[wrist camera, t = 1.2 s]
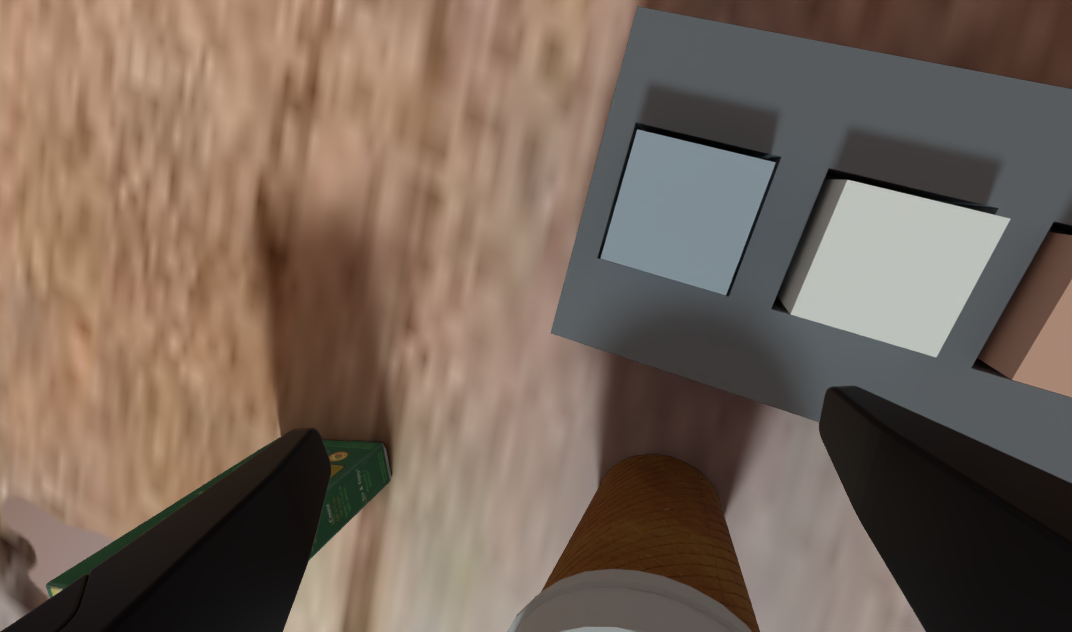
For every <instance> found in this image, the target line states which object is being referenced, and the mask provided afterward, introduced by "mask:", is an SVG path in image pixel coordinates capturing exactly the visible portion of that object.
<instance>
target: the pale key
mask: <svg viewBox="0 0 1072 632" xmlns="http://www.w3.org/2000/svg"><path fill="white" fill-rule="evenodd" d="M1009 221H1010V218H1005V217H1001V216H997V215H993V214H989V213H985V212H980V211H976V210H972V209H968V208H964V207H959V206H955V205H951V204H947V203H943V202H939V201H934V200H930V199H926V198H922V197H918V196H914V195H909V194H905V193H901V192H897V191H893V190H888V189H884V188H880V187H876V186H872V185H868V184H863V183H859V182H855V181H851V180H838V179H824V181H823V183H822V186H821V188H820V191H819V193H818V196H817V198H816V200H815V203H814V205H813V208H812V210H811V213H810V215H809V218H808V220H807V222H806V225H805V227H804V230H803V232H802V235H801V237H800V240H799V242H798V245H797V247H796V249H795V252H794V254H793V257H792V259H791V262H790V264H789V267H788V269H787V271H786V274H785V276H784V279H783V281H782V284H781V286H780V289H779V291H778V294H777V297H778V298H779V299H780V301H781V302H782V304H783V305H784V306H785V308H786V309H787V310H788V312H789V313H790V315H794V316H797V317H800V318H804V319H807V320H811V321H814V322H817V323H821V324H824V325H828V326H831V327H834V328H838V329H841V330H845V331H848V332H851V333H855V334H858V335H862V336H865V337H868V338H872V339H875V340H879V341H882V342H885V343H889V344H892V345H895V346H899V347H902V348H906V349H909V350H912V351H916V352H919V353H923V354H926V355H929V356H933V357H937V355H938V354H939V352H940V350H941V348H942V346H943V344H944V342H945V341H946V339H947V337H948V335H949V333H950V331H951V329H952V327H953V326H954V324H955V322H956V320H957V318H958V316H959V314H960V313H961V311H962V309H963V307H964V305H965V303H966V301H967V299H968V298H969V296H970V294H971V292H972V290H973V288H974V286H975V285H976V283H977V281H978V279H979V277H980V275H981V273H982V271H983V270H984V268H985V266H986V264H987V262H988V260H989V258H990V257H991V255H992V253H993V251H994V249H995V247H996V245H997V243H998V242H999V240H1000V238H1001V236H1002V234H1003V232H1004V230H1005V229H1006V227H1007V225H1008V223H1009Z"/></svg>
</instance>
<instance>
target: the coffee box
mask: <svg viewBox="0 0 1072 632" xmlns="http://www.w3.org/2000/svg"><path fill="white" fill-rule="evenodd" d="M280 438H281V437H280ZM278 439H279V438H278ZM278 439H277V440H278ZM277 440H275V441H277ZM275 441H273V442H272V443H274V442H275ZM323 442H324V445H325V448H326V451H327V453H328V456H329V459H330V462H331V476H330V481H329V485H328V489H327V493H326V497H325V501H324V505H323V509H322V513H321V517H320V521H319V525H318V529H317V533H316V537H315V541H314V544H313V548H312V552H311V555H310V558H309V560H310V559H311V558H312V557H313V556H314V555H315V554H316V553H317V552H318V551H319V550H320V549H321V548H322V547H323V546H324V545H325V544H326V543H327V542H328V541H329V540H330V539H331V538H332V537H333V536H334V535H335V534H336V533H338V532H339V531H340V530H341V529H342V528H343V527H344V526H345V525H346V524H347V523H348V522H349V521H350V520H351V519H352V518H353V517H354V516H355V515H356V514H357V513H358V512H359V511H360V510H361V509H362V508H363V507H364V506H365V505H366V504H367V503H368V502H369V501H371V499H373V498H374V497H375V496H376V495H377V494H378V493H379V492H380V491H381V490H382V489H383V488H384V487H385V486H386V485H387V484H388V483H389V482H390V480H391V472H390V466H389V461H388V455H387V451H386V448H385V447H384V445H383V443H381V442H365V441H336V440H323ZM272 443H270V444H268V445H266V446H265V447H263V448H262V449H260V450H258V451H257V452H255V453H254V454H252V455H250V456H249V457H247V458H246V459H244V460H242V461H241V462H239V463H238V464H236V465H234V466H233V467H231V468H230V469H228V470H226V471H225V472H223V473H222V474H220V475H218V476H217V477H215V478H214V479H212V480H211V481H209V482H208V483H206V484H204V485H203V486H201V487H200V488H198V489H196V490H195V491H193V492H192V493H190V494H189V495H187V496H185V497H184V498H182V499H181V500H179V501H177V502H176V503H174V504H173V505H171V506H170V507H168V508H166V509H165V510H163V511H162V512H160V513H159V514H157V515H155V516H154V517H152V518H151V519H149V520H148V521H146V522H144V523H142V524H141V525H139V526H138V527H136V528H135V529H133V530H131V531H130V532H128V533H126V534H125V535H123V536H122V537H120V538H118V539H117V540H115V541H114V542H112V543H111V544H109V545H108V546H106V547H104V548H103V549H101V550H100V551H98V552H96V553H95V554H93V555H91V556H90V557H88V558H87V559H85V560H83V561H82V562H80V563H79V564H77V565H76V566H74V567H72V568H71V569H69V570H68V571H66V572H64V573H63V574H61V575H60V576H58V577H56V578H55V579H53V580H51V581H50V582H48V583H47V584H46V588H47V590H48V593H49V596H50V598H51V597H53V596H54V595H56V594H57V593H59V592H60V591H61V590H63V589H64V588H66V587H67V586H69V585H70V584H71V583H73V582H74V581H76V580H77V579H79V578H80V577H81V576H83V575H84V574H90V571H91V570H92V569H93V568H95V567H96V566H97V565H99V564H100V563H102V562H103V561H105V560H106V559H107V558H109V557H110V556H112V555H113V554H115V553H116V552H117V551H119V550H120V549H122V548H123V547H125V546H126V545H127V544H129V543H130V542H132V541H133V540H135V539H136V538H138V537H139V536H140V535H142V534H143V533H145V532H146V531H148V530H149V529H150V528H152V527H153V526H155V525H156V524H158V523H159V522H160V521H162V520H163V519H165V518H166V517H168V516H169V515H171V514H172V513H173V512H175V511H176V510H178V509H179V508H181V507H182V506H183V505H185V504H186V503H188V502H189V501H191V500H192V499H193V498H195V497H196V496H198V495H199V494H201V493H202V492H203V491H205V490H206V489H208V488H209V487H211V486H212V485H214V484H215V483H216V482H218V481H219V480H221V479H222V478H224V477H225V476H226V475H228V474H229V473H231V472H232V471H234V470H235V469H236V468H238V467H239V466H241V465H242V464H244V463H245V462H246V461H248V460H249V459H251V458H252V457H254V456H255V455H257V454H258V453H259V452H261V451H262V450H264V449H265V448H267V447H268V446H269V445H271V444H272Z"/></svg>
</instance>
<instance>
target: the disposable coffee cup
mask: <svg viewBox="0 0 1072 632" xmlns="http://www.w3.org/2000/svg"><path fill="white" fill-rule="evenodd" d="M508 632H760V630H759V627H758V624H757V621H756V617H755V614H754V611H753V608H752V604H751V601H750V598H749V595H748V591H747V588H746V585H745V582H744V579H743V575H742V572H741V569H740V566H739V563H738V558H737V556H736V553H735V550H734V546H733V543H732V540H731V537H730V534H729V530H728V527H727V523H726V521H725V517H724V514H723V511H722V507H721V503H720V500H719V497H718V495H717V492H716V491H715V489H714V487H713V486H712V484H711V483H710V482H709V481H708V480H707V478H706V477H705V476H704V475H703V474H701V473H700V472H699V471H698V470H697V469H695V468H694V467H692V466H690V465H688V464H687V463H685V462H683V461H681V460H678V459H675V458H673V457H668V456H663V455H640V456H634V457H631V458H629V459H626V460H623V461H622V462H620V463H619V464H617V465H615V466H614V467H613V468H612V469H611V470H610V471H609V472H608V473H607V474H606V476H605V477H604V479H603V480H602V482H601V484H600V486H599V488H598V490H597V492H596V493H595V495H594V497H593V499H592V501H591V503H590V504H589V506H588V508H587V510H586V512H585V513H584V515H583V517H582V519H581V521H580V523H579V524H578V526H577V528H576V530H575V531H574V533H573V535H572V537H571V539H570V540H569V543H568V544H567V546H566V548H565V550H564V552H563V553H562V555H561V557H560V559H559V560H558V562H557V564H556V566H555V568H554V569H553V572H552V573H551V575H550V577H549V579H548V580H547V582H546V584H545V586H544V588H543V589H542V591H541V593H540V594H539V595H537V596H536V597H535V598H534V599H533V600H532V601H531V602H530V603H529V604H528V605H527V606H526V607H525V608H524V609H523V610H522V611H521V612H520V613H518V614H517V616H516V618H515V620H514V621H513V623H512V625H511V627H510V628H509V630H508Z"/></svg>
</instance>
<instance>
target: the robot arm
mask: <svg viewBox="0 0 1072 632" xmlns="http://www.w3.org/2000/svg"><path fill="white" fill-rule="evenodd" d="M819 431H820V436H821V438H822V441H823V443H824V445H825V447H826V449H827V452H828V454H829V456H830V458H831V460H832V463H833V465H834V467H835V469H836V471H837V473H838V476H839V478H840V480H841V482H842V484H843V486H844V489H845V491H846V493H847V495H848V497H849V500H850V502H851V504H852V506H853V508H854V510H855V512H856V514H857V516H858V518H859V520H860V521H861V523H862V525H863V527H864V528H865V530H866V532H867V534H868V535H869V537H870V539H871V540H872V542H873V544H874V545H875V547H876V549H877V550H878V552H879V554H880V555H881V557H882V559H883V560H884V562H885V564H886V565H887V567H888V569H889V570H890V572H891V574H892V576H893V577H894V579H895V581H896V582H897V584H898V586H899V587H900V589H901V591H902V592H903V594H904V596H905V597H906V599H907V601H908V602H909V604H910V606H911V607H912V609H913V611H914V612H915V614H916V616H917V617H918V619H919V621H920V622H921V624H922V626H923V628H924V629H925V631H926V632H1072V483H1071V482H1068V481H1066V480H1064V479H1062V478H1059V477H1057V476H1055V475H1053V474H1051V473H1048V472H1046V471H1044V470H1042V469H1040V468H1037V467H1035V466H1033V465H1031V464H1029V463H1026V462H1024V461H1022V460H1020V459H1017V458H1015V457H1013V456H1011V455H1009V454H1006V453H1004V452H1002V451H1000V450H998V449H995V448H993V447H991V446H989V445H987V444H984V443H982V442H980V441H978V440H975V439H973V438H971V437H969V436H967V435H964V434H962V433H960V432H958V431H956V430H953V429H951V428H949V427H947V426H944V425H942V424H940V423H938V422H936V421H933V420H931V419H929V418H927V417H925V416H922V415H920V414H918V413H916V412H914V411H911V410H909V409H907V408H905V407H902V406H900V405H898V404H896V403H894V402H891V401H889V400H887V399H885V398H883V397H880V396H878V395H876V394H874V393H872V392H869V391H867V390H865V389H863V388H861V387H858V386H856V385H840V386H831V387H829V388H828V389H827V390H826V393H825V396H824V401H823V406H822V411H821V416H820V422H819ZM330 476H331V462H330V459H329V456H328V453H327V451H326V448H325V445H324V442H323V440H322V437H321V434H320V432H319V431H318V430H317V429H315V428H301V429H294V430H291V431H290V432H288V433H287V434H285V435H284V436H282V437H281V438H279V439H278V440H277V441H275V442H274V443H272V444H271V445H269V446H268V447H267V448H265V449H264V450H262V451H261V452H259V453H258V454H257V455H255V456H254V457H252V458H251V459H249V460H248V461H246V462H245V463H244V464H242V465H241V466H239V467H238V468H236V469H235V470H234V471H232V472H231V473H229V474H228V475H226V476H225V477H224V478H222V479H221V480H219V481H218V482H216V483H215V484H214V485H212V486H211V487H209V488H208V489H206V490H205V491H203V492H202V493H201V494H199V495H198V496H196V497H195V498H193V499H192V500H191V501H189V502H188V503H186V504H185V505H183V506H182V507H181V508H179V509H178V510H176V511H175V512H173V513H172V514H171V515H169V516H168V517H166V518H165V519H163V520H162V521H160V522H159V523H158V524H156V525H155V526H153V527H152V528H150V529H149V530H148V531H146V532H145V533H143V534H142V535H140V536H139V537H138V538H136V539H135V540H133V541H132V542H130V543H129V544H127V545H126V546H125V547H123V548H122V549H120V550H119V551H117V552H116V553H115V554H113V555H112V556H110V557H109V558H107V559H106V560H105V561H103V562H102V563H100V564H99V565H97V566H96V567H95V568H93V569H92V570H91V571H90V574H84V575H83V576H81V577H80V578H79V579H77V580H76V581H74V582H73V583H71V584H70V585H69V586H67V587H66V588H64V589H63V590H61V591H60V592H59V593H57V594H56V595H54V596H53V597H51V598H50V599H48V600H47V601H45V602H44V603H42V604H41V605H40V606H38V607H37V608H35V609H34V610H32V611H31V612H29V613H28V614H26V615H25V616H23V617H22V618H20V619H19V620H17V621H16V622H15V623H13V624H11V625H10V626H8V627H7V628H5V629H4V630H2V631H1V632H283V630H284V627H285V624H286V621H287V619H288V616H289V613H290V611H291V608H292V605H293V602H294V600H295V597H296V594H297V591H298V589H299V586H300V583H301V580H302V578H303V575H304V572H305V570H306V567H307V564H308V561H309V558H310V555H311V552H312V548H313V544H314V541H315V537H316V533H317V529H318V525H319V521H320V517H321V513H322V509H323V505H324V501H325V497H326V493H327V489H328V485H329V481H330Z"/></svg>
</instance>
